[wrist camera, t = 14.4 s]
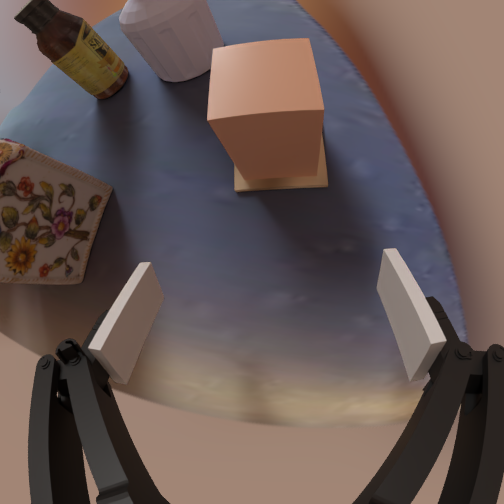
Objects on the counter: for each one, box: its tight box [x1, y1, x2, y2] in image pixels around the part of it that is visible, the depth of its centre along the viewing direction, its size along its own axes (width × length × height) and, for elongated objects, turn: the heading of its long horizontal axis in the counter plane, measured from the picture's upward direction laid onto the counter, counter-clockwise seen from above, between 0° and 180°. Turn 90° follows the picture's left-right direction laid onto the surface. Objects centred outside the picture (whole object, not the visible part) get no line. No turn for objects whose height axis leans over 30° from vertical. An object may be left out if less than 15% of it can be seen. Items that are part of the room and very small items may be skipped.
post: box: [234, 136, 328, 192], centre depth 20 cm, size 8×8×7 cm
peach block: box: [207, 38, 324, 180], centre depth 18 cm, size 6×6×10 cm
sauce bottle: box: [14, 0, 128, 99], centre depth 19 cm, size 6×6×20 cm
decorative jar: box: [0, 138, 112, 285], centre depth 19 cm, size 12×12×18 cm
